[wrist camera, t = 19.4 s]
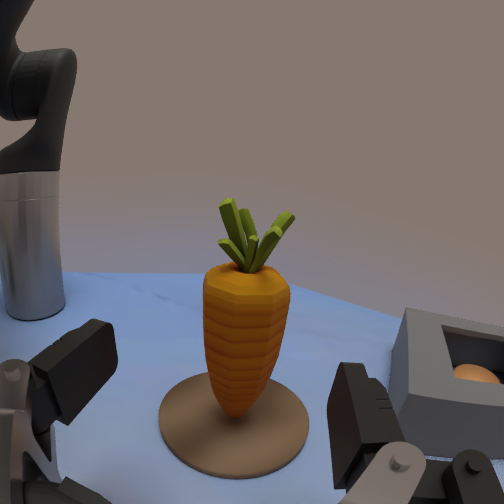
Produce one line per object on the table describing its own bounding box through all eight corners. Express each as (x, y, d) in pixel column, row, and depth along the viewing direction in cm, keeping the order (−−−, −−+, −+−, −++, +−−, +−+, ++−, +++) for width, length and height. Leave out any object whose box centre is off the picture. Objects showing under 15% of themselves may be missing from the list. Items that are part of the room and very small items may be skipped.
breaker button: (447, 411, 17) (457, 394, 17) (442, 376, 23) (449, 360, 22) (497, 417, 15) (507, 400, 14) (486, 382, 20) (494, 367, 20)
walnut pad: (129, 426, 16) (127, 419, 16) (212, 363, 26) (213, 356, 26) (269, 504, 12) (271, 499, 11) (324, 403, 21) (326, 396, 21)
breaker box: (379, 447, 16) (408, 393, 14) (392, 349, 30) (405, 307, 28) (542, 456, 8) (577, 407, 7) (509, 370, 22) (526, 331, 21)
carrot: (273, 401, 20) (303, 202, 17) (262, 447, 16) (301, 208, 12) (211, 388, 21) (221, 193, 17) (190, 430, 16) (189, 197, 13)
